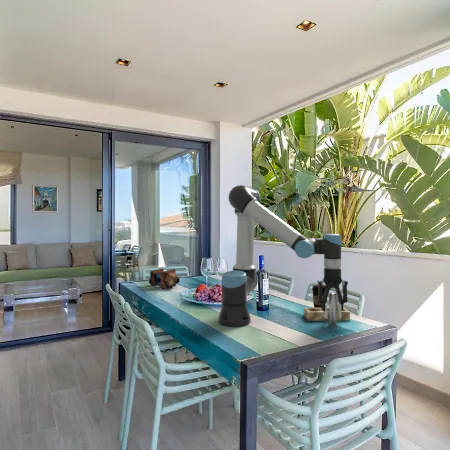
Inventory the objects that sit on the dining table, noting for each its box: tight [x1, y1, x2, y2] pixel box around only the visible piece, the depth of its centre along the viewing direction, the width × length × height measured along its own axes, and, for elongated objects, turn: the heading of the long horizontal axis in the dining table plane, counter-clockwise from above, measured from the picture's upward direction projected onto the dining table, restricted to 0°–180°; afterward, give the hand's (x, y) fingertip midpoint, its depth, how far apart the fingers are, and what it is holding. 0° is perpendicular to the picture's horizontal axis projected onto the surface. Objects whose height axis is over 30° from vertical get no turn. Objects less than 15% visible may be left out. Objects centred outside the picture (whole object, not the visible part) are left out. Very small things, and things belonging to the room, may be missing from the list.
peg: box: [328, 292, 337, 326], centre depth 159 cm, size 3×3×14 cm
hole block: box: [303, 306, 351, 322], centre depth 168 cm, size 20×8×4 cm, turn 91°
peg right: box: [334, 288, 343, 311], centre depth 168 cm, size 3×3×14 cm
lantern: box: [148, 268, 180, 289], centre depth 243 cm, size 16×16×25 cm
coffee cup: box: [311, 284, 328, 308], centre depth 182 cm, size 9×8×13 cm
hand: (332, 317), depth 159 cm, fingers open, 6 cm apart
